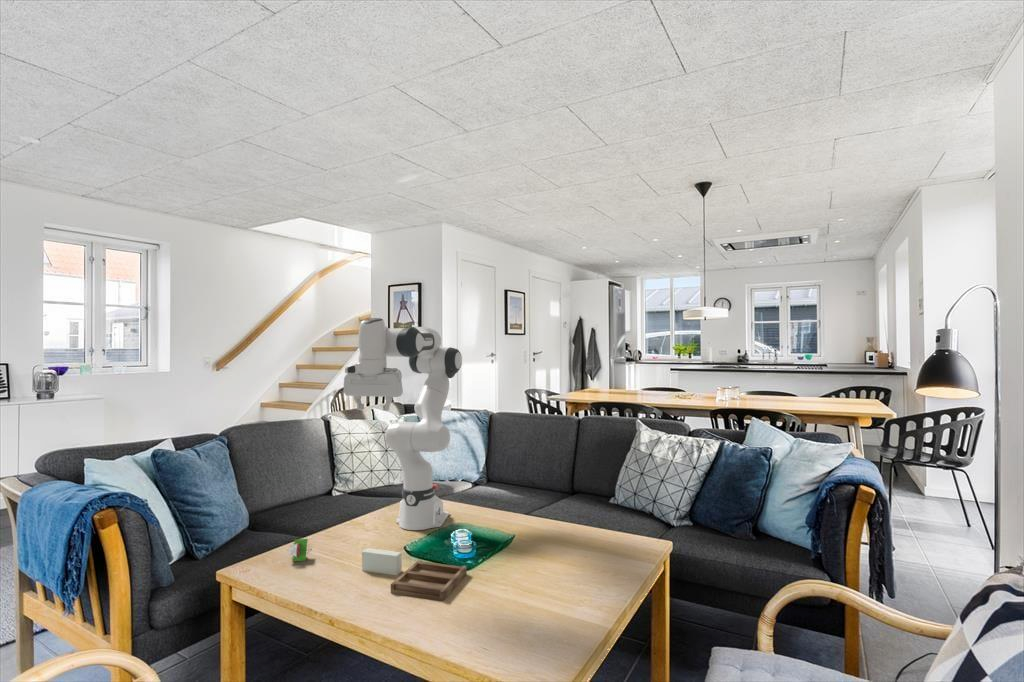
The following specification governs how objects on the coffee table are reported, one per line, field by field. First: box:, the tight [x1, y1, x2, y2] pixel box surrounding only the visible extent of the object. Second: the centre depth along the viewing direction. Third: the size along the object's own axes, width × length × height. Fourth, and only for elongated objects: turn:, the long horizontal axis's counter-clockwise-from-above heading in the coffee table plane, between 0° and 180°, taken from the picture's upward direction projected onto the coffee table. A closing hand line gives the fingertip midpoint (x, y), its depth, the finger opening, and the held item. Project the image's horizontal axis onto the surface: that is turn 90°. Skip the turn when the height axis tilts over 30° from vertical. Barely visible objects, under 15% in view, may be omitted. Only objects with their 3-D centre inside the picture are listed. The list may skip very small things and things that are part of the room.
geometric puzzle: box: [287, 538, 313, 562], centre depth 176 cm, size 7×7×8 cm
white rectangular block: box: [361, 547, 403, 576], centre depth 167 cm, size 3×12×6 cm, turn 73°
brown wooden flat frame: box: [390, 559, 468, 602], centre depth 159 cm, size 17×16×2 cm
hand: (373, 410), depth 178 cm, fingers open, 8 cm apart
